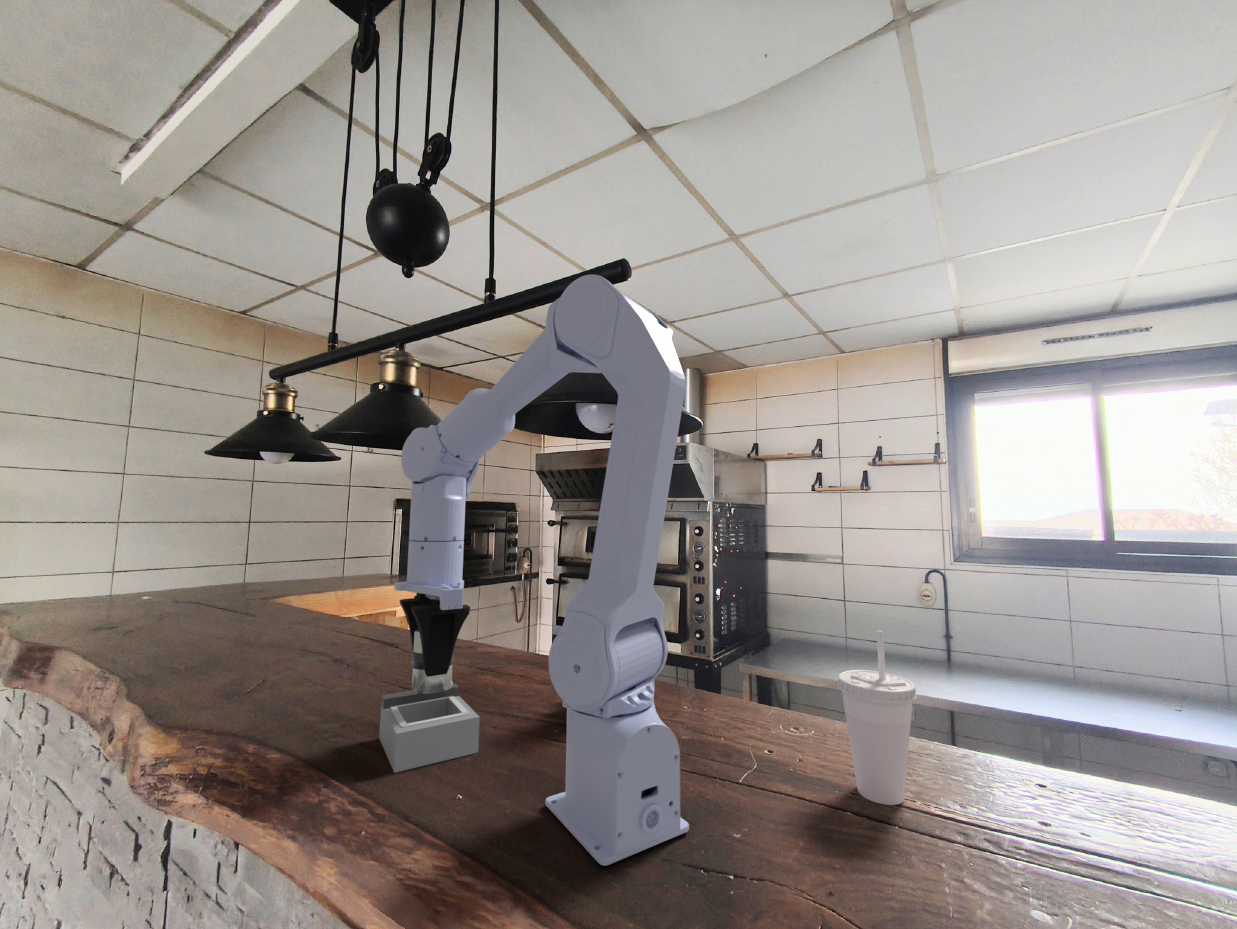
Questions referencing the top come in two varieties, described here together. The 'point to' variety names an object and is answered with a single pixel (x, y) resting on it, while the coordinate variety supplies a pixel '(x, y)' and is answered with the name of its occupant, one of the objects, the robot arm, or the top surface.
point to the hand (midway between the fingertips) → (430, 668)
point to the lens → (419, 679)
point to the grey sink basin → (427, 728)
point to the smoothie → (878, 728)
